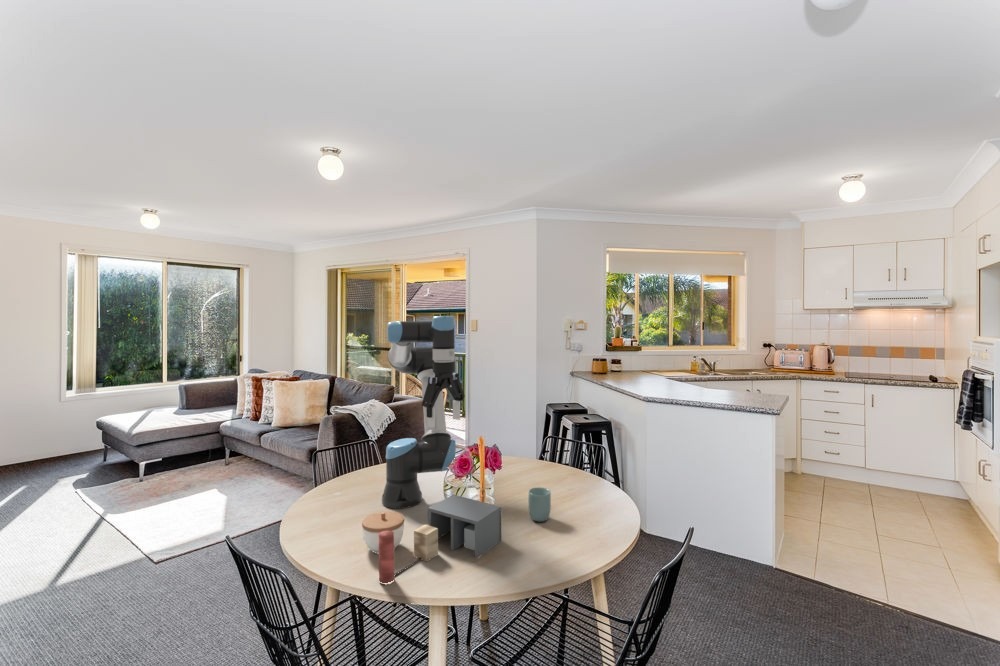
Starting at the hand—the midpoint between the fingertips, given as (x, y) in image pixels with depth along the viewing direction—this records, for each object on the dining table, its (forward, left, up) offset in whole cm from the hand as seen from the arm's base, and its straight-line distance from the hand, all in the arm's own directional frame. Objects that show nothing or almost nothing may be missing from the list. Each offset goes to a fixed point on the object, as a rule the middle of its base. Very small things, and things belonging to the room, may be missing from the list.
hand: (444, 422), depth 166 cm
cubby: (+14, -8, -35) cm, 38 cm away
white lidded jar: (-5, -24, -35) cm, 43 cm away
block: (+18, -8, -35) cm, 40 cm away
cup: (+27, +19, -35) cm, 48 cm away
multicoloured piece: (+10, -29, -35) cm, 46 cm away
